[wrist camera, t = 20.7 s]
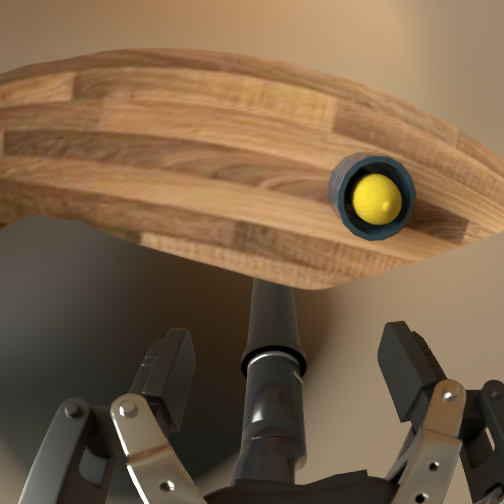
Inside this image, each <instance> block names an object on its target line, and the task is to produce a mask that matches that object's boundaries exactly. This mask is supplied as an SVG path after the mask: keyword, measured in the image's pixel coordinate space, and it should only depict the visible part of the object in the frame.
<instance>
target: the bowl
mask: <svg viewBox="0 0 504 504" xmlns="http://www.w3.org/2000/svg"><path fill="white" fill-rule="evenodd" d="M369 173H377V174H381V175H384V176H386V177H387V178H389V179H390V180H392V181H393V183H394V184H395V185H396V186H397V188H398V190H399V192H400V194H401V199H402V205H401V209H400V212H399V214H398V215H397V216H396V218H395V219H394V220H392V221H391V222H389V223H387V224H382V225H376V224H371V223H369V222H366V221H364V220H363V219H362V218H360V217H359V216H358V215H357V213H356V212H355V211H354V209H353V207H352V204H351V199H350V194H351V189H352V186H353V184H354V183H355V181H356V180H357V179H358V178H360V177H361V176H363V175H365V174H369ZM415 196H416V191H415V188H414V184H413V181H412V177H411V176H410V174H409V173H408V172H407V170H406V169H405V168H404V166H403V165H402V164H401V163H399V162H397V161H395V160H393V159H392V158H390V157H387V156H383V155H379V154H374V153H363V152H358V153H355V154H353V155H350V156H348V157H345V158H344V159H343V160H342V161H341V162H340V163H339V164H338V165H337V166H336V167H335V168H334V170H333V172H332V175H331V177H330V180H329V182H328V198H329V201H330V204H331V206H332V209H333V211H334V213H335V214H336V215H337V216H338V218H339V219H340V220H341V221H342V223H343V224H344V225H345V226H346V227H347V228H348V229H349V230H350V231H351V232H352V233H353V234H354V235H356V236H358V237H361V238H363V239H365V240H368V241H374V240H385V239H387V238H389V237H391V236H393V235H395V234H397V233H398V232H399V231H400V230H401V229H402V228H403V227H404V226H405V225H406V224H407V223H408V221H409V219H410V217H411V215H412V212H413V210H414V208H415Z"/></svg>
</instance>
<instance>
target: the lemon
mask: <svg viewBox="0 0 504 504" xmlns="http://www.w3.org/2000/svg"><path fill="white" fill-rule="evenodd" d="M350 199H351V204H352V207H353V209H354V211H355V212H356V213H357V215H358V216H359V217H360V218H362V219H363V220H364V221H366V222H369V223H371V224H376V225H382V224H387V223H389V222H391V221H392V220H394V219H395V218H396V216H397V215H398V214H399V212H400V209H401V205H402V199H401V194H400V192H399V190H398V188H397V186H396V185H395V184H394V183H393V181H392V180H390V179H389V178H387V177H386V176H384V175H381V174H377V173H369V174H365V175H363V176H361V177H360V178H358V179H357V180H356V181H355V183H354V184H353V186H352V189H351V194H350Z"/></svg>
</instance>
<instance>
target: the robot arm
mask: <svg viewBox="0 0 504 504" xmlns="http://www.w3.org/2000/svg"><path fill="white" fill-rule="evenodd" d="M378 363H379V366H380V368H381V371H382V373H383V376H384V379H385V381H386V384H387V386H388V389H389V391H390V394H391V397H392V400H393V402H394V405H395V408H396V411H397V413H398V416H399V419H400V422H401V423H402V422H406V421H411V423H412V426H411V427H410V430H409V432H408V434H407V437H406V439H405V441H404V443H403V446H402V448H401V450H400V452H399V454H398V456H397V459H396V461H395V463H394V464H393V466H392V468H391V469H390V471H389V472H388V474H387V475H386V477H385V478H384V479H383V478H379V477H372V476H368V475H367V470H361V471H355V472H349V473H343V474H336V475H334V476H331V477H328V478H325V479H322V480H319V481H316V482H313V483H310V484H306V485H297V484H295V472H296V471H298V470H300V469H301V468H303V467H304V465H305V464H306V462H307V449H306V437H305V425H304V413H303V401H302V390H301V384H302V385H303V386H304V382H303V381H302V379H301V378H300V364H299V362H298V360H297V359H296V358H295V357H294V356H292V355H291V354H289V353H286V352H282V351H267V352H263V353H260V354H258V355H256V356H255V357H253V358H252V359H251V361H250V362H249V364H248V370H247V374H248V377H247V387H246V399H245V411H244V421H243V434H242V444H241V453H240V457H239V459H238V460H237V462H236V464H235V466H234V469H233V472H232V478H231V484H230V486H228V487H225V488H221V489H218V490H216V491H213V492H211V493H209V494H207V495H205V496H204V497H203V495H202V494H201V492H200V491H199V490H198V488H197V487H196V485H195V484H194V482H193V481H192V480H191V478H190V476H189V475H188V473H187V472H186V470H185V469H184V467H183V466H182V464H181V462H180V461H179V459H178V457H177V456H176V454H175V452H174V451H173V449H172V447H171V446H170V444H169V442H168V441H167V439H168V435H169V432H177V433H179V429H180V425H181V422H182V418H183V414H184V410H185V406H186V402H187V398H188V395H189V391H190V387H191V383H192V379H193V376H194V372H195V367H196V358H195V353H194V348H193V344H192V340H191V335H190V331H189V329H179V328H170V329H169V331H168V333H167V335H166V337H165V340H157V341H156V342H155V343H154V344H153V345H152V346H151V347H149V350H148V352H147V354H146V356H145V358H144V360H143V362H142V366H140V369H139V371H138V373H137V375H136V377H135V380H134V382H133V384H132V386H131V389H130V391H129V393H128V394H126V395H122V396H120V397H119V398H117V399H116V400H115V401H114V402H113V403H112V405H108V406H93V407H91V406H90V405H89V404H88V402H87V401H86V400H85V399H83V398H80V397H73V398H70V399H67V400H66V401H64V402H63V403H62V404H61V405H60V407H59V409H58V411H57V413H56V415H55V417H54V419H53V421H52V423H51V425H50V427H49V429H48V431H47V434H46V436H45V438H44V440H43V442H42V445H41V447H40V449H39V451H38V454H37V456H36V458H35V461H34V463H33V465H32V468H31V470H30V473H29V476H28V478H27V481H26V483H25V486H24V489H23V491H22V494H21V497H20V500H19V503H18V504H105V500H106V496H107V492H108V488H109V485H110V481H111V477H112V473H113V470H114V466H115V463H116V459H117V456H127V460H126V464H127V467H128V470H129V472H130V474H131V476H132V478H133V481H134V483H135V485H136V487H137V489H138V491H139V493H140V495H141V497H142V499H143V500H144V503H145V504H442V503H443V500H444V498H445V495H446V493H447V490H448V487H449V485H450V482H451V479H452V476H453V473H454V470H455V467H456V464H457V461H458V457H459V455H460V459H461V462H462V465H463V469H464V472H465V475H466V479H467V483H468V486H469V490H470V494H471V498H472V503H473V504H504V384H503V383H502V382H500V381H498V380H490V381H488V382H486V383H485V384H484V386H483V388H482V389H481V390H465V389H464V387H463V386H462V385H461V384H460V383H459V382H457V381H455V380H451V379H447V377H446V375H445V374H444V372H443V370H442V368H441V367H440V365H439V363H438V361H437V360H436V358H435V356H434V355H433V354H432V351H431V350H430V348H428V345H427V343H426V342H425V340H424V338H423V337H421V336H420V335H419V334H417V333H416V332H415V331H413V332H411V331H410V329H409V328H408V326H407V324H406V323H405V322H404V321H397V322H389V323H386V325H385V327H384V331H383V335H382V338H381V342H380V345H379V349H378ZM487 427H488V429H489V431H490V433H491V436H492V438H493V441H494V444H495V449H494V451H493V449H492V446H491V443H490V441H489V438H488V436H487V434H486V431H485V429H486V428H487Z"/></svg>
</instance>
